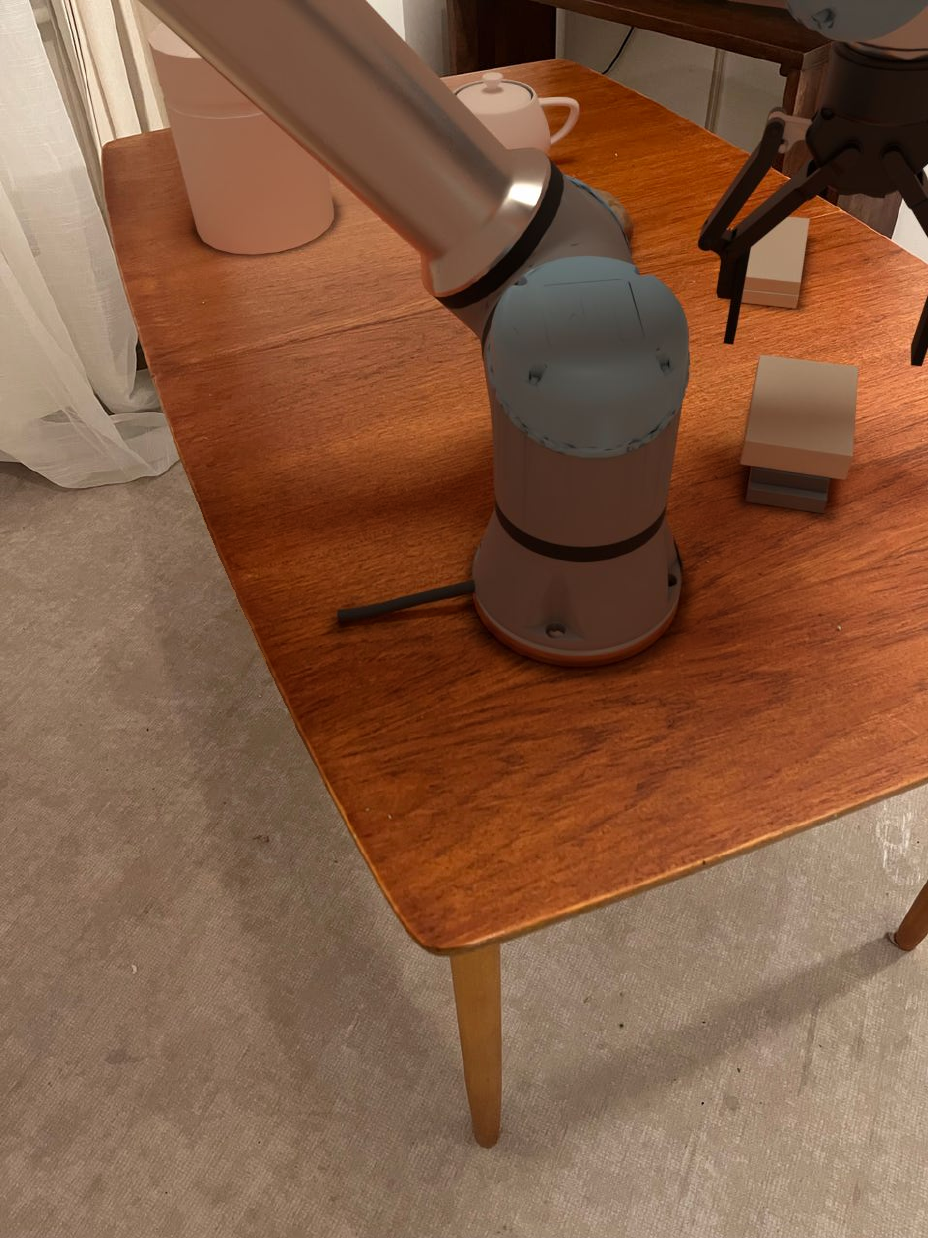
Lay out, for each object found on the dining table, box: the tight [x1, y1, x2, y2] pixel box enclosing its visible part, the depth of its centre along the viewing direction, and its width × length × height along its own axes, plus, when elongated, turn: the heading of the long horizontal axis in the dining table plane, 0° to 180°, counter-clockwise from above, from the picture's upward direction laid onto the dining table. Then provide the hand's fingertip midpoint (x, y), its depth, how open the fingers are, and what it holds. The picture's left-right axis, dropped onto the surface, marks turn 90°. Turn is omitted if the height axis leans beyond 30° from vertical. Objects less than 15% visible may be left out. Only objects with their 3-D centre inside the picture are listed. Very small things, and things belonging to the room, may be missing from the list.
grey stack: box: [745, 466, 831, 514], centre depth 81 cm, size 14×6×3 cm, turn 163°
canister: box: [147, 22, 335, 256], centre depth 107 cm, size 16×16×20 cm
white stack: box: [741, 216, 811, 309], centre depth 101 cm, size 14×6×3 cm, turn 163°
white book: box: [739, 354, 859, 481], centre depth 79 cm, size 12×8×2 cm, turn 163°
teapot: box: [452, 71, 580, 156], centre depth 116 cm, size 22×14×11 cm, turn 95°
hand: (821, 345), depth 75 cm, fingers open, 13 cm apart
